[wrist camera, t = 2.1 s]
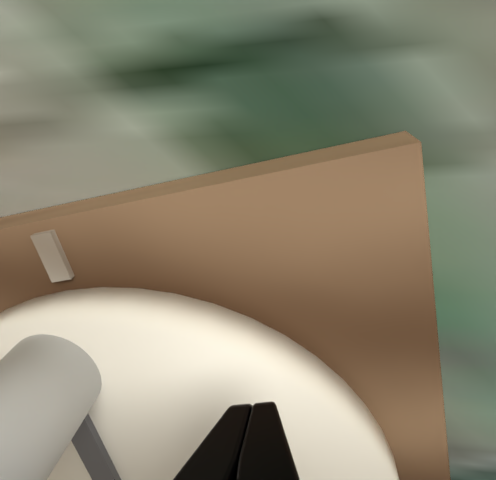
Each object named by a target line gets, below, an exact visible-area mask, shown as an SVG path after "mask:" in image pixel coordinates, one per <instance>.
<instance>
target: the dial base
mask: <svg viewBox="0 0 496 480" xmlns="http://www.w3.org/2000/svg"><path fill="white" fill-rule="evenodd" d="M97 287H114V288H140V289H147V290H154V291H161V292H168V293H175V294H179V295H183V296H187V297H191V298H194V299H198V300H202V301H206V302H210V303H214V304H216V305H219V306H222V307H224V308H227V309H230V310H232V311H235V312H237V313H240V314H243V315H245V316H248V317H250V318H253V319H255V320H256V321H258V322H260V323H262V324H264V325H266V326H268V327H270V328H272V329H274V330H276V331H278V332H280V333H282V334H284V335H286V336H287V337H289V338H290V339H292V340H293V341H295V342H296V343H298V344H299V345H300V346H302V347H303V348H305V349H306V350H308V351H309V352H311V353H312V354H314V355H315V356H317V357H318V358H319V359H320V360H321V361H323V362H324V363H325V364H326V365H327V366H328V367H330V368H331V369H332V370H333V371H334V372H335V373H336V374H338V375H339V376H340V377H341V378H342V379H343V380H344V381H345V382H346V383H347V384H348V385H349V386H350V387H351V389H352V390H353V391H354V392H355V393H356V394H357V395H358V396H359V398H360V399H361V400H362V401H363V402H364V403H365V405H366V406H367V408H368V409H369V411H370V412H371V414H372V415H373V417H374V418H375V420H376V421H377V423H378V424H379V426H380V427H381V429H382V431H383V433H384V435H385V438H386V440H387V442H388V444H389V447H390V449H391V451H392V453H393V456H394V460H395V464H396V468H397V472H398V476H399V480H450V470H449V458H448V447H447V435H446V424H445V412H444V401H443V389H442V378H441V366H440V355H439V343H438V332H437V320H436V309H435V297H434V286H433V274H432V262H431V251H430V239H429V228H428V216H427V205H426V193H425V182H424V170H423V159H422V147H421V142H420V141H419V140H418V139H416V138H415V137H413V136H412V135H411V134H409V133H408V132H406V131H403V132H398V133H394V134H389V135H384V136H380V137H375V138H370V139H366V140H361V141H356V142H352V143H347V144H342V145H338V146H333V147H328V148H324V149H319V150H314V151H310V152H305V153H300V154H296V155H291V156H286V157H282V158H277V159H272V160H268V161H263V162H258V163H254V164H249V165H244V166H240V167H235V168H230V169H225V170H221V171H216V172H211V173H207V174H202V175H197V176H193V177H188V178H183V179H179V180H174V181H169V182H165V183H160V184H155V185H151V186H146V187H141V188H137V189H132V190H127V191H123V192H118V193H113V194H109V195H104V196H99V197H95V198H90V199H85V200H81V201H76V202H71V203H67V204H62V205H57V206H53V207H48V208H43V209H38V210H34V211H29V212H24V213H20V214H15V215H10V216H6V217H1V218H0V313H1V312H2V311H4V310H6V309H8V308H10V307H13V306H15V305H18V304H20V303H23V302H25V301H28V300H30V299H33V298H36V297H40V296H45V295H49V294H53V293H57V292H62V291H66V290H76V289H87V288H97Z"/></svg>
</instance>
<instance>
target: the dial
mask: <svg viewBox="0 0 496 480" xmlns="http://www.w3.org/2000/svg"><path fill="white" fill-rule="evenodd" d="M271 401H272V402H275V404H276V406H277V409H278V412H279V416H280V419H281V422H282V425H283V428H284V431H285V434H286V438H287V441H288V444H289V447H290V450H291V453H292V457H293V460H294V463H295V466H296V469H297V472H298V475H299V479H300V480H399V476H398V472H397V468H396V464H395V460H394V456H393V453H392V451H391V449H390V447H389V444H388V442H387V440H386V438H385V435H384V433H383V431H382V429H381V427H380V426H379V424H378V423H377V421H376V420H375V418H374V417H373V415H372V414H371V412H370V411H369V409H368V408H367V406H366V405H365V403H364V402H363V401H362V400H361V399H360V398H359V396H358V395H357V394H356V393H355V392H354V391H353V390H352V389H351V387H350V386H349V385H348V384H347V383H346V382H345V381H344V380H343V379H342V378H341V377H340V376H339V375H338V374H336V373H335V372H334V371H333V370H332V369H331V368H330V367H328V366H327V365H326V364H325V363H324V362H323V361H321V360H320V359H319V358H318V357H317V356H315V355H314V354H312V353H311V352H309V351H308V350H306V349H305V348H303V347H302V346H300V345H299V344H298V343H296V342H295V341H293V340H292V339H290V338H289V337H287V336H286V335H284V334H282V333H280V332H278V331H276V330H274V329H272V328H270V327H268V326H266V325H264V324H262V323H260V322H258V321H256V320H255V319H253V318H250V317H248V316H245V315H243V314H240V313H237V312H235V311H232V310H230V309H227V308H224V307H222V306H219V305H216V304H214V303H210V302H206V301H202V300H198V299H194V298H191V297H187V296H183V295H179V294H175V293H168V292H161V291H154V290H147V289H140V288H114V287H97V288H87V289H76V290H66V291H62V292H57V293H53V294H49V295H45V296H40V297H36V298H33V299H30V300H28V301H25V302H23V303H20V304H18V305H15V306H13V307H10V308H8V309H6V310H4V311H2V312H1V313H0V480H173V479H174V477H175V476H176V475H177V474H178V472H179V471H180V470H181V468H182V467H183V466H184V464H185V463H186V462H187V461H188V459H189V458H190V457H191V455H192V454H193V453H194V452H195V450H196V449H197V448H198V446H199V445H200V444H201V442H202V441H203V440H204V439H205V437H206V436H207V435H208V433H209V432H210V431H211V429H212V428H213V427H214V426H215V424H216V423H217V422H218V420H219V419H220V418H221V417H222V415H223V414H224V413H225V411H226V410H227V409H228V408H229V407H230V406H232V405H238V404H251V405H254V404H255V403H260V402H271Z"/></svg>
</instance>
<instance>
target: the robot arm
mask: <svg viewBox="0 0 496 480" xmlns="http://www.w3.org/2000/svg"><path fill="white" fill-rule="evenodd" d="M173 480H300V479H299V475H298V472H297V469H296V466H295V463H294V460H293V457H292V453H291V450H290V447H289V444H288V441H287V438H286V434H285V431H284V428H283V425H282V422H281V419H280V416H279V412H278V409H277V406H276V404H275V402H272V401H271V402H260V403H255V404H254V405H251V404H238V405H232V406H230V407H229V408H228V409H227V410H226V411H225V413H224V414H223V415H222V417H221V418H220V419H219V420H218V422H217V423H216V424H215V426H214V427H213V428H212V429H211V431H210V432H209V433H208V435H207V436H206V437H205V439H204V440H203V441H202V442H201V444H200V445H199V446H198V448H197V449H196V450H195V452H194V453H193V454H192V455H191V457H190V458H189V459H188V461H187V462H186V463H185V464H184V466H183V467H182V468H181V470H180V471H179V472H178V474H177V475H176V476H175V477H174V479H173Z"/></svg>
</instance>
